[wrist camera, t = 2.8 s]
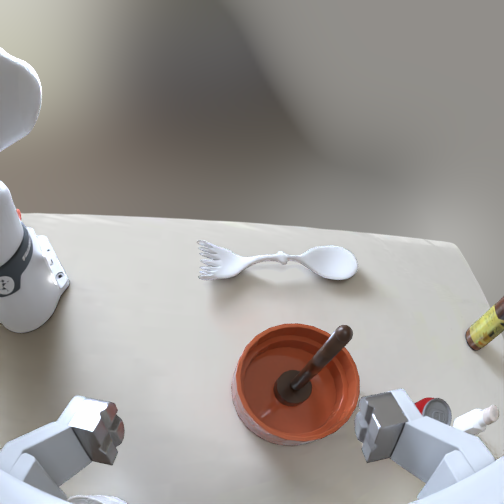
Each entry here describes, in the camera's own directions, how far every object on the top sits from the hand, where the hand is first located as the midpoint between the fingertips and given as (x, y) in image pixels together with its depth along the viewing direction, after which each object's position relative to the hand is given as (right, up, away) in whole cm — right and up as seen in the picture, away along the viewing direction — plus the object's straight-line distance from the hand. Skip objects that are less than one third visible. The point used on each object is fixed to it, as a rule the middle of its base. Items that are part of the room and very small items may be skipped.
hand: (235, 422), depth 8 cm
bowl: (+6, -15, +32) cm, 36 cm away
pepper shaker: (+39, -28, +28) cm, 55 cm away
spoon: (+6, +2, +49) cm, 49 cm away
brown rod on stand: (+6, -15, +31) cm, 35 cm away
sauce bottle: (+52, -15, +43) cm, 69 cm away
